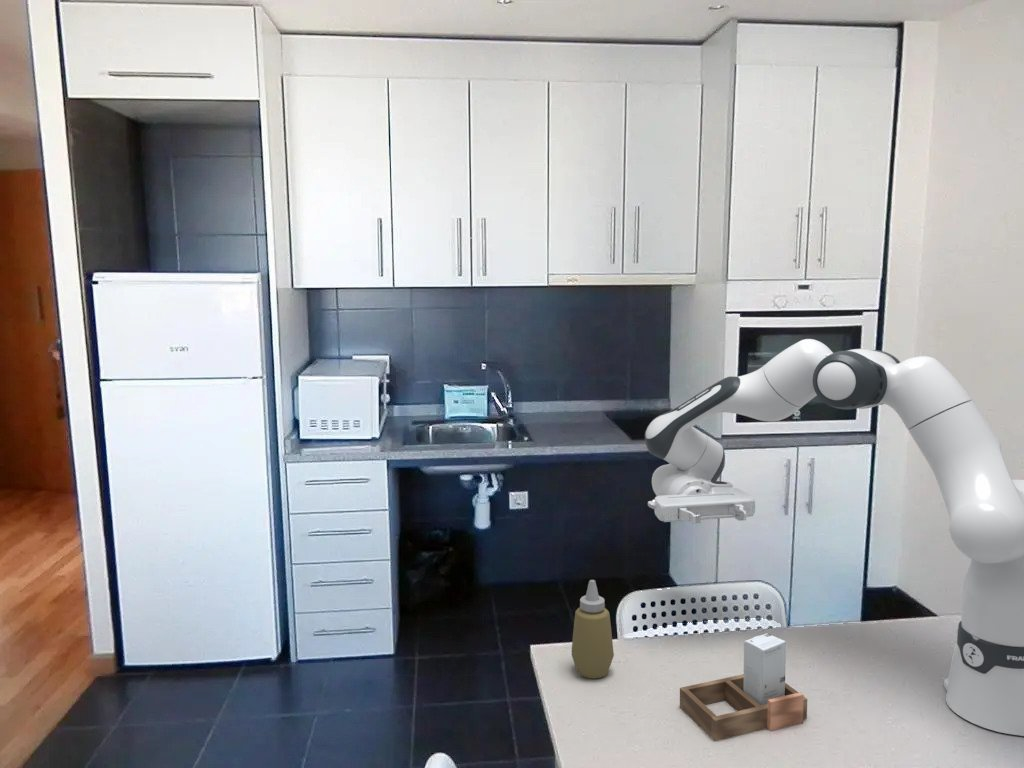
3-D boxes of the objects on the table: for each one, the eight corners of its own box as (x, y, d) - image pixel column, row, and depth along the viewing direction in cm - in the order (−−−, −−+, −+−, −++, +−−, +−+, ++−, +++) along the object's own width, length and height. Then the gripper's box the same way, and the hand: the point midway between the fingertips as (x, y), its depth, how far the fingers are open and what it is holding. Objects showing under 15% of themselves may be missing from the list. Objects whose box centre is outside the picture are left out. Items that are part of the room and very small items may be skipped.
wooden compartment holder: (766, 687, 133) (766, 661, 132) (810, 721, 122) (811, 692, 122) (679, 706, 127) (679, 679, 127) (717, 743, 117) (718, 714, 116)
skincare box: (762, 719, 123) (763, 651, 122) (741, 707, 127) (742, 640, 125) (786, 708, 126) (788, 641, 125) (765, 696, 130) (766, 631, 129)
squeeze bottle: (568, 680, 137) (567, 587, 135) (574, 659, 144) (574, 571, 142) (611, 684, 135) (611, 591, 133) (616, 663, 143) (616, 574, 140)
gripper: (644, 486, 153) (668, 505, 140) (736, 481, 156) (769, 499, 143) (644, 516, 154) (668, 537, 141) (736, 510, 157) (768, 530, 144)
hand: (720, 518), depth 142 cm, fingers open, 8 cm apart
